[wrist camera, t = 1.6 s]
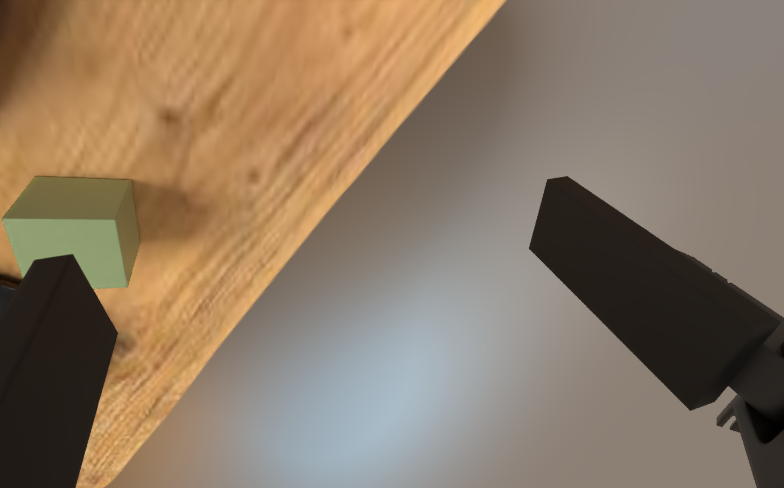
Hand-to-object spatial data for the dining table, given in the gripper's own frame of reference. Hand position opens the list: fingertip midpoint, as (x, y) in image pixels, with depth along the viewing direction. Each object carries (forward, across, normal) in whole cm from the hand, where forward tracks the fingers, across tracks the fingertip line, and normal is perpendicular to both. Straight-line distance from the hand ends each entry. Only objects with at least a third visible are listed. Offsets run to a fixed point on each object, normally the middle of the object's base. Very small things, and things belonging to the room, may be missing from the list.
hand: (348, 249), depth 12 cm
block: (+19, -13, -7) cm, 24 cm away
